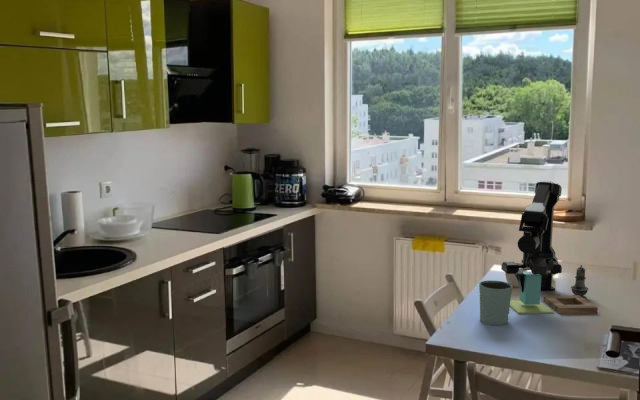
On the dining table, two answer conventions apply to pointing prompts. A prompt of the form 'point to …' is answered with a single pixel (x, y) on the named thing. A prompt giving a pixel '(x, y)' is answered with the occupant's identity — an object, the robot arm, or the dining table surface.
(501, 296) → the green cup
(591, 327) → the dining table surface
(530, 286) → the teal peg
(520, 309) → the olive mat
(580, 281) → the dark grey upright piece
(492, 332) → the dining table surface
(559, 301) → the frame
